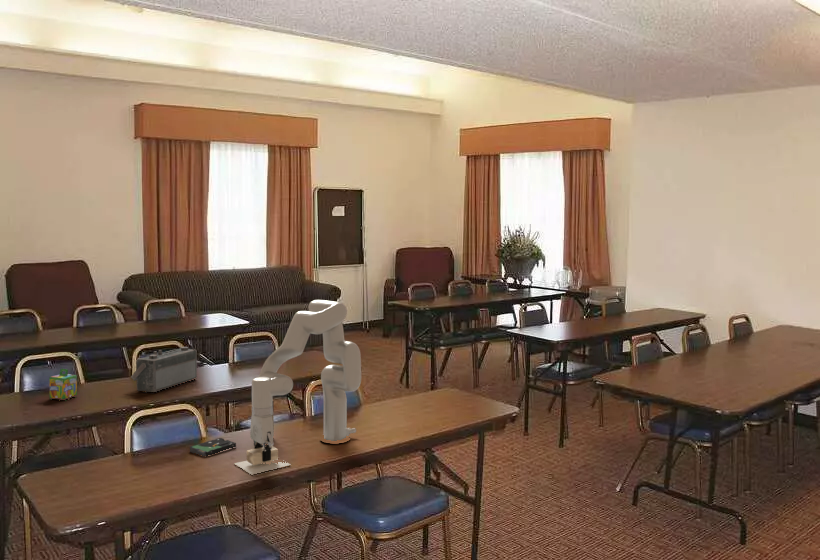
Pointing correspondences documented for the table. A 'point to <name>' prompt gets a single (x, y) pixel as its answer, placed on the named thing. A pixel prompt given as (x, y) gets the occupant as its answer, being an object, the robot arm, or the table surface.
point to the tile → (260, 455)
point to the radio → (165, 369)
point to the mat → (259, 466)
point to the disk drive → (212, 447)
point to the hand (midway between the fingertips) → (262, 458)
